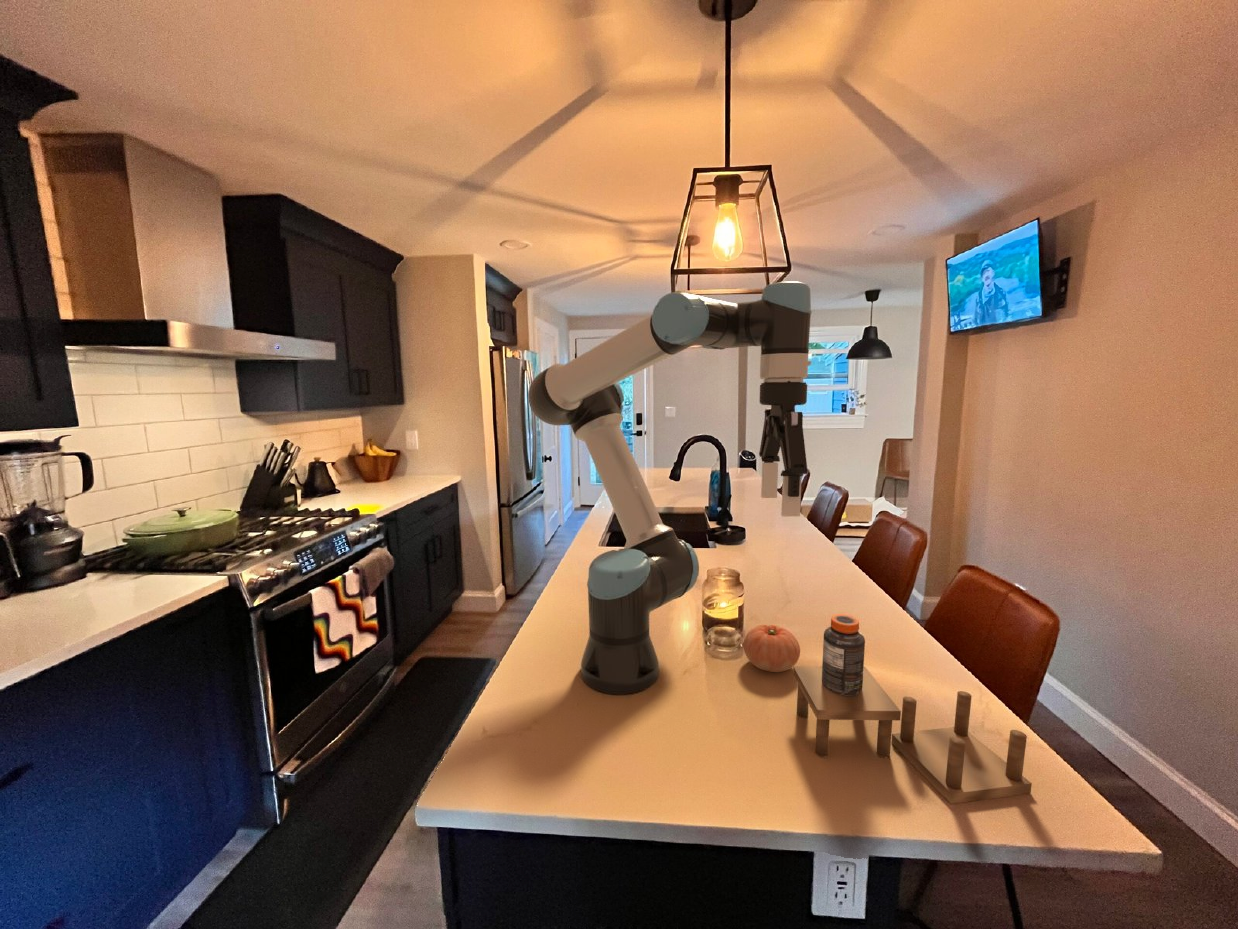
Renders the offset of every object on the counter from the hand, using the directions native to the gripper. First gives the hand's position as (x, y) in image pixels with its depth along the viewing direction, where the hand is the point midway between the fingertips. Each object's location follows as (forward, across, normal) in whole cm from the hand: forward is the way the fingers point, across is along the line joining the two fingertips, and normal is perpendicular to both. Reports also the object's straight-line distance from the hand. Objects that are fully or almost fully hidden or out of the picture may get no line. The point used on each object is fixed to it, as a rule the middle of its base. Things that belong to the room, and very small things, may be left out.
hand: (778, 506), depth 88 cm
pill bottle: (+27, -11, -8) cm, 30 cm away
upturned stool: (+35, -18, -22) cm, 45 cm away
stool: (+35, -11, -8) cm, 37 cm away
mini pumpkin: (+35, +9, -2) cm, 36 cm away
